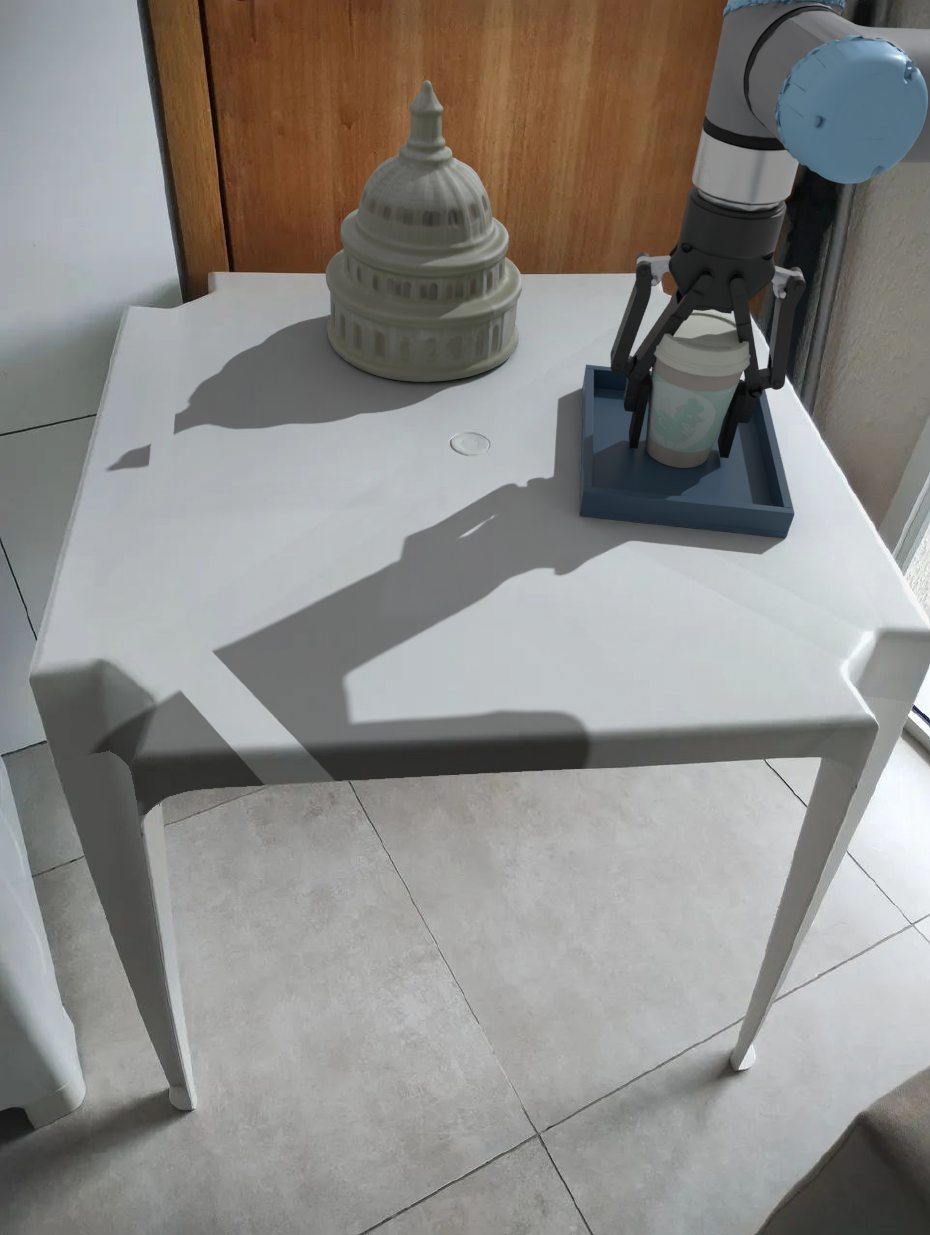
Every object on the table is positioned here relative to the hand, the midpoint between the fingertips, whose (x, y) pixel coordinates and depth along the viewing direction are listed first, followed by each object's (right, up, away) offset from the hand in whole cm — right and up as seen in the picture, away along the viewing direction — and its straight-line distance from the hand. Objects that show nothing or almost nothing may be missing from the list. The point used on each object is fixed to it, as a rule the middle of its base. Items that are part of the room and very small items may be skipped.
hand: (678, 444), depth 92 cm
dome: (-24, +14, +15) cm, 32 cm away
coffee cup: (0, -1, +1) cm, 1 cm away
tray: (0, -1, +1) cm, 1 cm away
